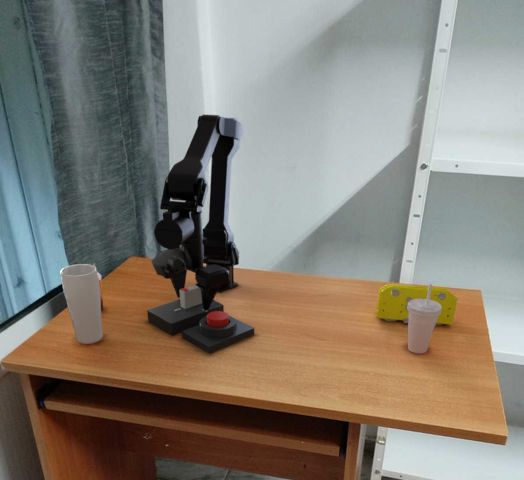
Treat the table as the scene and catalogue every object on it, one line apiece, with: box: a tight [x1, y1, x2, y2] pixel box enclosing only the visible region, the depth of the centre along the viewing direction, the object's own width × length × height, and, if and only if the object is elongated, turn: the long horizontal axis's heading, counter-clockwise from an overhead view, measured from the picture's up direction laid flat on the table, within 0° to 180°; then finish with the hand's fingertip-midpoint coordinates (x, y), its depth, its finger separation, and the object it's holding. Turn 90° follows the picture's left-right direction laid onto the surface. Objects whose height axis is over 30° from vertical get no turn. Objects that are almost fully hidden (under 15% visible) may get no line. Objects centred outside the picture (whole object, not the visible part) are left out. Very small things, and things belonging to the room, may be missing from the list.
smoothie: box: [407, 283, 442, 354], centre depth 104 cm, size 6×6×14 cm
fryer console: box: [146, 298, 225, 337], centre depth 117 cm, size 14×10×3 cm
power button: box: [207, 311, 230, 327], centre depth 109 cm, size 4×4×2 cm
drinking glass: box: [60, 263, 104, 345], centre depth 106 cm, size 7×7×15 cm
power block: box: [181, 315, 255, 355], centre depth 110 cm, size 12×9×4 cm
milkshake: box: [93, 263, 104, 313], centre depth 120 cm, size 4×5×10 cm
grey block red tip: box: [179, 284, 202, 309], centre depth 117 cm, size 6×2×4 cm, turn 134°
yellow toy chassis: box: [376, 283, 458, 326], centre depth 117 cm, size 16×6×8 cm, turn 79°
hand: (192, 303), depth 118 cm, fingers open, 9 cm apart
